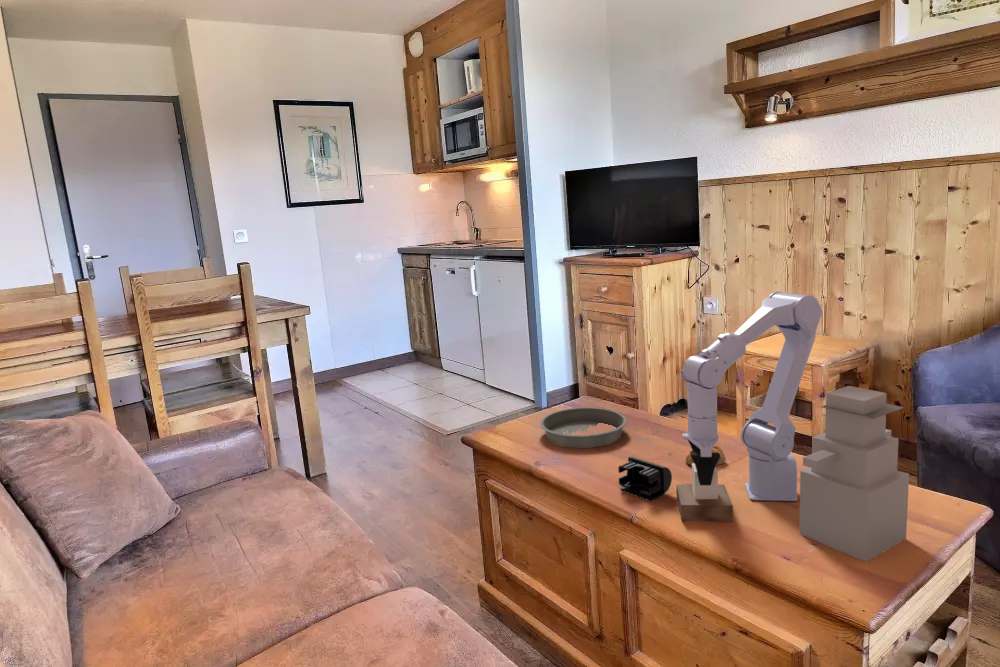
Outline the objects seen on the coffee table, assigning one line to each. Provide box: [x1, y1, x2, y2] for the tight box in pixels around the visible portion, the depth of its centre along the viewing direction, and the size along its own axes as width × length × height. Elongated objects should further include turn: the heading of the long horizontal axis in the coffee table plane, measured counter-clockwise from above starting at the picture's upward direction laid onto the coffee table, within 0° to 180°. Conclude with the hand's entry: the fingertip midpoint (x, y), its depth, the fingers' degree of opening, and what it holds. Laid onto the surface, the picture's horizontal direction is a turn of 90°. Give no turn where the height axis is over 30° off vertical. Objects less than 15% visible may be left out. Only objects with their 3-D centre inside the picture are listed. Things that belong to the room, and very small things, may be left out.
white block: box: [691, 463, 719, 499], centre depth 135 cm, size 4×4×6 cm
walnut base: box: [675, 483, 734, 523], centre depth 136 cm, size 10×10×4 cm
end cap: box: [618, 456, 673, 502], centre depth 147 cm, size 10×7×7 cm
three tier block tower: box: [798, 385, 910, 563], centre depth 120 cm, size 13×24×28 cm, turn 121°
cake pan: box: [539, 407, 628, 449], centre depth 186 cm, size 25×25×4 cm
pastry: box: [685, 445, 727, 466], centre depth 161 cm, size 9×7×4 cm
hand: (703, 476), depth 135 cm, fingers open, 7 cm apart
